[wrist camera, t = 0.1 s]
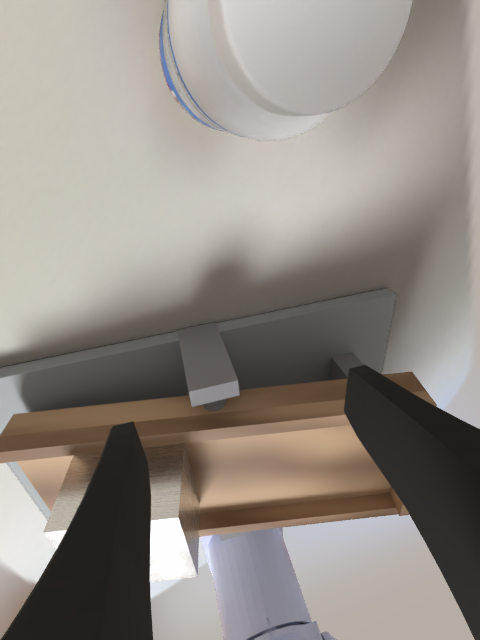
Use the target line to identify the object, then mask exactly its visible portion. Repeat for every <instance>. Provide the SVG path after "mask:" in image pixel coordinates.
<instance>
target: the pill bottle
mask: <svg viewBox="0 0 480 640" xmlns="http://www.w3.org/2000/svg"><path fill="white" fill-rule="evenodd" d="M412 2H413V0H166V2H165V7H164V11H163V15H162V20H161V25H160V34H159V49H160V58H161V65H162V69H163V73H164V77H165V79H166V82H167V85H168V87H169V89H170V91H171V93H172V95H173V97H174V98H175V100H176V101H177V103H178V104H179V105H180V106H181V107H182V108H183V109H184V110H185V111H186V112H187V113H188V114H189V115H190V116H191V117H192V118H193V119H195V120H196V121H198V122H199V123H201V124H203V125H206V126H208V127H210V128H213V129H217V130H220V131H224V132H228V133H231V134H235V135H238V136H241V137H245V138H249V139H254V140H259V141H277V140H283V139H288V138H291V137H295V136H297V135H300V134H302V133H304V132H306V131H308V130H310V129H312V128H313V127H315V126H316V125H318V124H319V123H320V122H322V121H323V120H324V119H325V118H326V117H327V116H329V115H330V114H331V113H332V112H333V111H336V110H338V109H340V108H342V107H344V106H346V105H348V104H349V103H351V102H353V101H354V100H356V99H357V98H358V97H360V96H361V95H362V94H363V93H364V92H365V91H366V90H368V89H369V88H370V86H371V85H372V84H373V83H374V82H375V81H376V80H377V79H378V78H379V76H380V75H381V74H382V73H383V71H384V70H385V68H386V67H387V65H388V63H389V62H390V60H391V58H392V57H393V55H394V53H395V51H396V49H397V47H398V45H399V43H400V40H401V38H402V36H403V33H404V30H405V27H406V25H407V22H408V18H409V15H410V11H411V6H412Z"/></svg>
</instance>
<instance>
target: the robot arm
mask: <svg viewBox="0 0 480 640" xmlns="http://www.w3.org/2000/svg"><path fill="white" fill-rule="evenodd" d="M344 412H345V414H346V416H347V418H348V420H349V422H350V424H351V426H352V428H353V430H354V432H355V434H356V435H357V437H358V439H359V440H360V442H361V443H362V445H363V446H364V448H365V449H366V451H367V452H368V454H369V455H370V456H371V458H372V459H373V461H374V462H375V464H376V465H377V467H378V468H379V469H380V471H381V472H382V474H383V475H384V477H385V478H386V479H387V481H388V482H389V484H390V485H391V487H392V488H393V489H394V491H395V492H396V494H397V495H398V497H399V498H400V500H401V501H402V503H403V504H404V506H405V508H406V509H407V511H408V512H409V514H410V516H411V518H412V520H413V521H414V523H415V525H416V526H417V528H418V530H419V532H420V534H421V535H422V537H423V539H424V540H425V542H426V544H427V546H428V548H429V550H430V552H431V554H432V555H433V557H434V559H435V561H436V563H437V564H438V566H439V568H440V570H441V572H442V574H443V576H444V578H445V580H446V582H447V584H448V586H449V588H450V590H451V592H452V594H453V596H454V598H455V599H456V602H457V603H458V605H459V607H460V609H461V612H462V613H463V616H464V618H465V620H466V622H467V624H468V626H469V628H470V630H471V633H472V635H473V637H474V639H475V640H480V429H478V428H476V427H474V426H472V425H470V424H468V423H466V422H464V421H462V420H460V419H458V418H456V417H454V416H453V415H451V414H449V413H447V412H445V411H443V410H441V409H439V408H438V407H436V406H434V405H432V404H430V403H429V402H427V401H425V400H423V399H422V398H420V397H418V396H417V395H415V394H413V393H411V392H410V391H408V390H406V389H405V388H403V387H401V386H400V385H398V384H397V383H395V382H393V381H392V380H390V379H388V378H387V377H385V376H383V375H382V374H380V373H378V372H377V371H375V370H373V369H372V368H370V367H368V366H367V365H362V366H358V367H354V368H350V369H349V373H348V381H347V389H346V397H345V405H344ZM150 538H151V489H150V477H149V467H148V461H147V458H146V455H145V453H144V450H143V447H142V444H141V441H140V438H139V436H138V433H137V430H136V427H135V424H134V421H132V422H128V423H124V424H120V425H116V426H113V427H112V428H111V429H110V431H109V434H108V437H107V440H106V443H105V446H104V449H103V451H102V454H101V456H100V459H99V461H98V464H97V466H96V469H95V471H94V474H93V476H92V478H91V480H90V483H89V485H88V487H87V489H86V492H85V494H84V496H83V498H82V501H81V503H80V505H79V507H78V509H77V511H76V513H75V515H74V517H73V519H72V521H71V523H70V525H69V527H68V529H67V531H66V533H65V535H64V537H63V538H62V540H61V542H60V544H59V546H58V548H57V549H56V551H55V553H54V555H53V557H52V558H51V560H50V562H49V564H48V565H47V567H46V569H45V570H44V572H43V574H42V576H41V577H40V579H39V581H38V582H37V584H36V586H35V587H34V589H33V591H32V592H31V594H30V595H29V597H28V599H27V600H26V602H25V603H24V605H23V606H22V608H21V610H20V611H19V613H18V614H17V616H16V617H15V619H14V620H13V622H12V624H11V625H10V627H9V628H8V630H7V631H6V633H5V634H4V636H3V637H2V638H1V640H153V632H152V618H151V602H150ZM201 539H202V543H203V547H204V550H205V554H206V558H207V561H208V565H209V568H210V572H211V574H213V578H214V585H215V590H216V597H217V603H218V609H219V615H220V620H221V626H222V632H223V638H224V640H337V639H336V638H334V637H333V636H331V635H330V634H329V633H328V632H323V633H320V630H319V628H318V625H317V622H316V621H314V622H312V621H311V618H310V615H309V612H308V609H307V606H306V604H305V600H304V598H303V595H302V592H301V589H300V586H299V583H298V580H297V578H296V574H295V571H294V569H293V566H292V563H291V560H290V557H289V554H288V551H287V549H286V546H285V543H284V540H283V535H282V527H280V528H272V529H263V530H254V531H253V532H250V533H247V534H243V535H240V536H237V537H234V538H231V539H228V540H225V541H221V539H220V534H219V535H210V536H201Z"/></svg>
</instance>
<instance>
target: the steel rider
mask: <svg viewBox="0 0 480 640" xmlns="http://www.w3.org/2000/svg"><path fill="white" fill-rule="evenodd" d="M143 450H144V453H145V455H146V458H147V461H148V467H149V477H150V489H151V538H150V582H155V581H164V580H173V579H181V578H190V577H197V576H198V547H199V513H200V503H199V499H198V495H197V491H196V487H195V483H194V479H193V475H192V471H191V467H190V463H189V459H188V455H187V451H186V447H185V443H182V444H173V445H164V446H154V447H145V448H143ZM101 454H102V452H99V453H90V454H81V455H73V458H72V460H71V463H70V465H69V468H68V470H67V473H66V476H65V478H64V481H63V483H62V486H61V488H60V491H59V493H58V496H57V499H56V501H55V504H54V506H53V509H52V511H51V514H50V516H49V519H48V522H47V524H46V527H45V529H44V532H43V533H44V534H45V536H46V537H47V538H48V540H49V541H50V542H51V544H52V545H53V546H54V548H55V549H57V548H58V546H59V544H60V542H61V540H62V538H63V537H64V535H65V533H66V531H67V529H68V527H69V525H70V523H71V521H72V519H73V517H74V515H75V513H76V511H77V509H78V507H79V505H80V503H81V501H82V498H83V496H84V494H85V492H86V489H87V487H88V485H89V483H90V480H91V478H92V476H93V474H94V471H95V469H96V466H97V464H98V461H99V459H100V456H101Z"/></svg>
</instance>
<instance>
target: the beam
mask: <svg viewBox="0 0 480 640" xmlns="http://www.w3.org/2000/svg"><path fill="white" fill-rule="evenodd" d="M383 376H385V377H387V378H388V379H390V380H392V381H393V382H395V383H397V384H398V385H400V386H401V387H403V388H405V389H406V390H408V391H410V392H411V393H413V394H415V395H417V396H418V397H420V398H422V399H423V400H425V401H427V402H429V403H430V404H432V405H434V406H437V405H436V403H435V402H434V401H433V399H432V398H431V397H430V395H429V394H428V393H427V391H426V390H425V389H424V387H423V386H422V384H421V383H420V382H419V380H418V379H417V378H416V376H415V375H414V374H413V372H404V373H395V374H385V375H383ZM347 381H348V379H338V380H329V381H319V382H310V383H301V384H291V385H282V386H272V387H263V388H254V389H244V390H239V393H240V395H239V396H235V397H231V398H227V399H223V400H218V401H214V402H210V403H206V404H202V405H198V406H194V407H192V405H191V400H190V396H189V395H188V396H179V397H169V398H160V399H150V400H141V401H132V402H122V403H113V404H103V405H94V406H85V407H75V408H66V409H56V410H47V411H38V412H28V413H19V414H13V416H12V417H11V419H10V420H9V422H8V424H7V425H6V427H5V428H4V430H3V431H2V433H1V435H0V463H7V462H17V463H18V465H19V466H20V468H21V469H22V470H23V472H24V473H25V475H26V476H27V478H28V479H29V481H30V482H31V483H32V485H33V486H34V488H35V489H36V491H37V492H38V494H39V495H40V497H41V498H42V499H43V501H44V502H45V504H46V505H47V507H48V508H49V510H50V511H52V509H53V506H54V504H55V501H56V499H57V496H58V493H59V491H60V488H61V486H62V483H63V481H64V478H65V476H66V473H67V470H68V468H69V465H70V463H71V460H72V458H73V455H81V454H90V453H99V452H102V451H103V449H104V446H105V443H106V440H107V437H108V434H109V431H110V429H111V428H112V427H113V426H116V425H120V424H124V423H128V422H132V421H134V424H135V427H136V430H137V433H138V436H139V438H140V441H141V444H142V447H143V448H145V447H154V446H164V445H173V444H182V443H185V447H186V451H187V455H188V459H189V463H190V467H191V471H192V475H193V479H194V483H195V487H196V491H197V495H198V499H199V503H200V513H199V537H201V536H210V535H219V534H228V533H236V532H245V531H254V530H263V529H272V528H280V527H288V526H298V525H307V524H316V523H324V522H333V521H342V520H351V519H360V518H369V517H377V516H386V515H395V514H399V516H402V515H409V512H408V511H407V509H406V508H405V506H404V504H403V503H402V501H401V500H400V498H399V497H398V495H397V494H396V492H395V491H394V489H393V488H392V487H391V485H390V484H389V482H388V481H387V479H386V478H385V477H384V475H383V474H382V472H381V471H380V469H379V468H378V467H377V465H376V464H375V462H374V461H373V459H372V458H371V456H370V455H369V454H368V452H367V451H366V449H365V448H364V446H363V445H362V443H361V442H360V440H359V439H358V437H357V435H356V434H355V432H354V430H353V428H352V426H351V424H350V422H349V420H348V418H347V416H346V414H345V412H344V405H345V397H346V389H347Z"/></svg>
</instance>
